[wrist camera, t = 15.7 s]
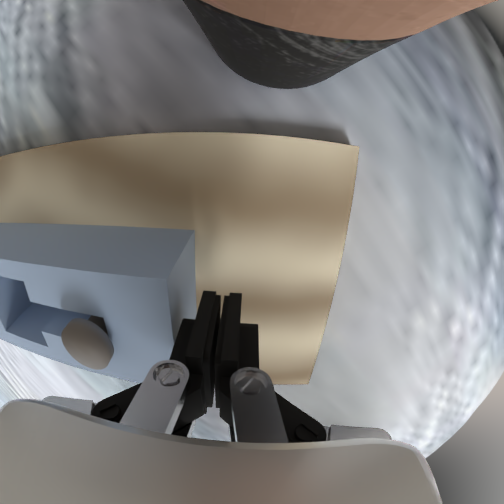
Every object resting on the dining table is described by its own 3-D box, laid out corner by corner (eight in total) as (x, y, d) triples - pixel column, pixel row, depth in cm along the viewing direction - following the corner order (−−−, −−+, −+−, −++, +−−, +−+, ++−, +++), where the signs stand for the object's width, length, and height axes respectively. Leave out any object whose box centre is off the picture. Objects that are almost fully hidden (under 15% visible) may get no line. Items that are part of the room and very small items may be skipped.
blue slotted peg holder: (197, 325, 16) (181, 389, 11) (-20, 283, 16) (-52, 311, 11) (194, 230, 14) (166, 279, 9) (-36, 222, 13) (-74, 244, 9)
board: (306, 372, 19) (320, 454, 13) (-7, 318, 19) (-42, 357, 12) (351, 145, 13) (430, 160, 6) (-43, 170, 12) (-97, 193, 6)
